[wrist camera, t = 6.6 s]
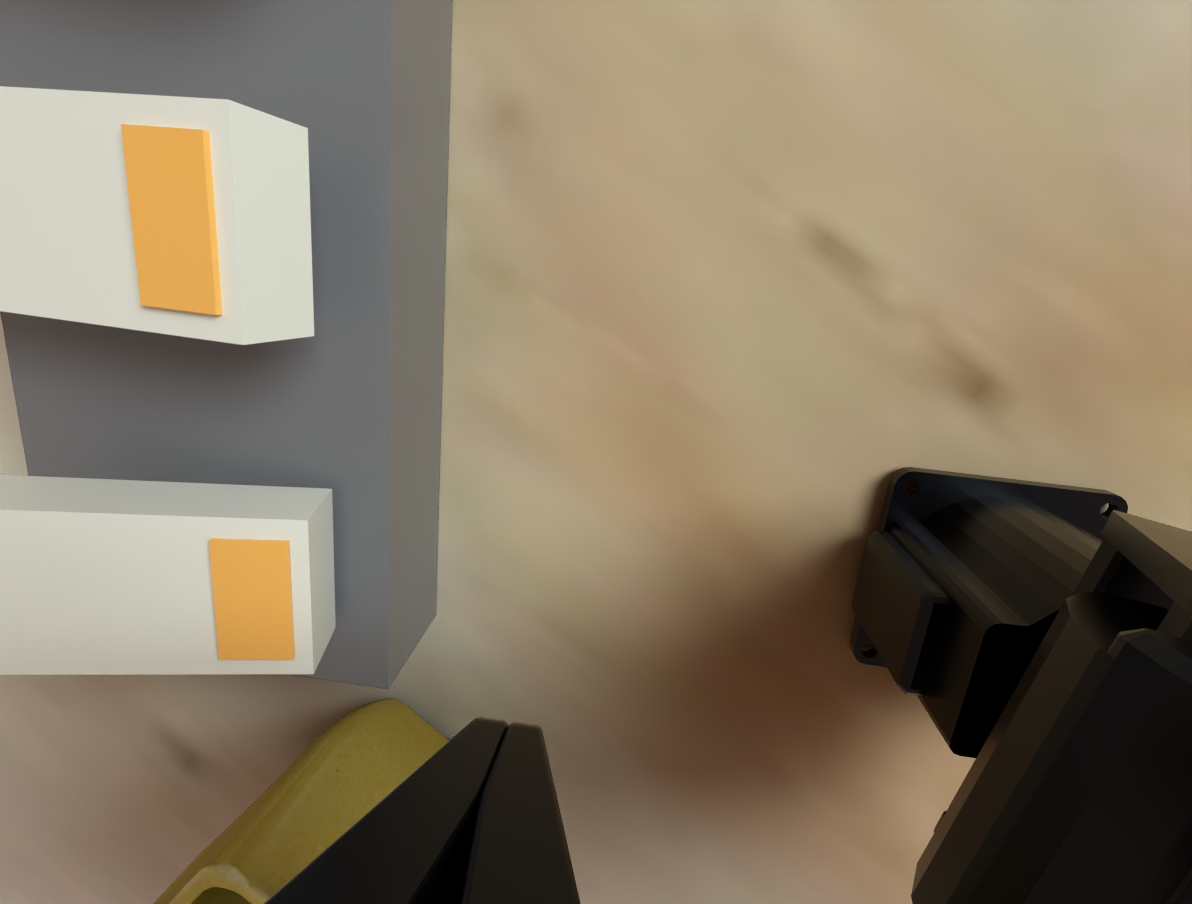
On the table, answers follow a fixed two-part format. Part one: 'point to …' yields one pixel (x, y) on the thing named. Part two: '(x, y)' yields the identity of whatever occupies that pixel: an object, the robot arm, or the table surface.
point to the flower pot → (309, 806)
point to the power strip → (340, 290)
